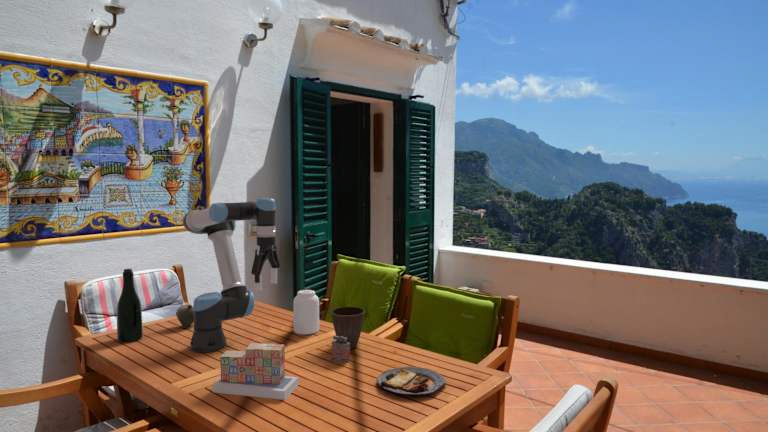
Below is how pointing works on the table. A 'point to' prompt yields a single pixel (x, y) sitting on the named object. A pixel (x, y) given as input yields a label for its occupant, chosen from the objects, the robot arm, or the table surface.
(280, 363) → the stack of blocks
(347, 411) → the table surface
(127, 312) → the beer bottle
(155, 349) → the table surface
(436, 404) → the table surface
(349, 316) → the plant pot
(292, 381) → the base board
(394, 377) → the food plate
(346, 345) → the lighter
